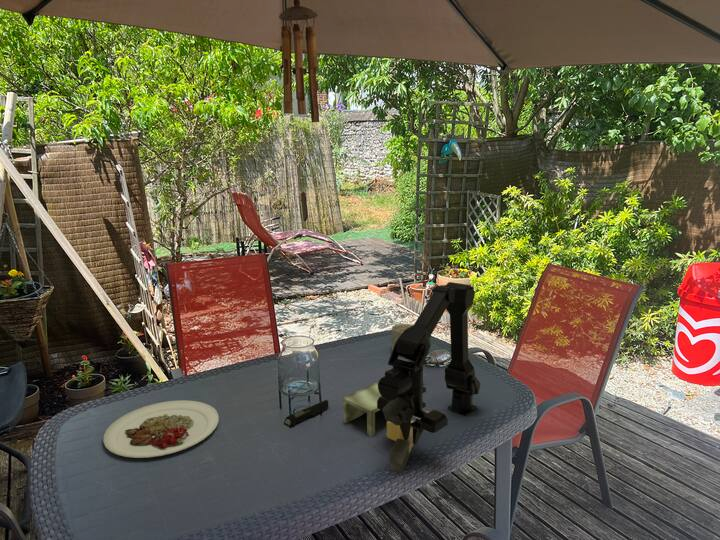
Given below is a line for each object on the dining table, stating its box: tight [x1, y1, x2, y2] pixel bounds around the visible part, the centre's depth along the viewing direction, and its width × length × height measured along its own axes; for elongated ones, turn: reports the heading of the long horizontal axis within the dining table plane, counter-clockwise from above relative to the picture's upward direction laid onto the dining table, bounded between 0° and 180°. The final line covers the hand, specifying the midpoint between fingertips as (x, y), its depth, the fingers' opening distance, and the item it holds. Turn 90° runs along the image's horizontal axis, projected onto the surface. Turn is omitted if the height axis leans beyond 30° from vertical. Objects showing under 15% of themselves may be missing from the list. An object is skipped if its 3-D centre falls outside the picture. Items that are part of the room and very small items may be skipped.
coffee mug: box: [391, 323, 414, 358], centre depth 195 cm, size 13×10×10 cm
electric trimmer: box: [283, 399, 329, 428], centre depth 148 cm, size 4×15×3 cm, turn 135°
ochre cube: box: [386, 421, 404, 442], centre depth 136 cm, size 4×4×4 cm
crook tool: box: [389, 420, 415, 473], centre depth 131 cm, size 8×20×5 cm, turn 158°
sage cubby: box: [342, 381, 381, 437], centre depth 146 cm, size 18×11×8 cm, turn 135°
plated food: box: [102, 399, 220, 459], centre depth 141 cm, size 30×30×3 cm
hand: (410, 441), depth 128 cm, fingers open, 2 cm apart
